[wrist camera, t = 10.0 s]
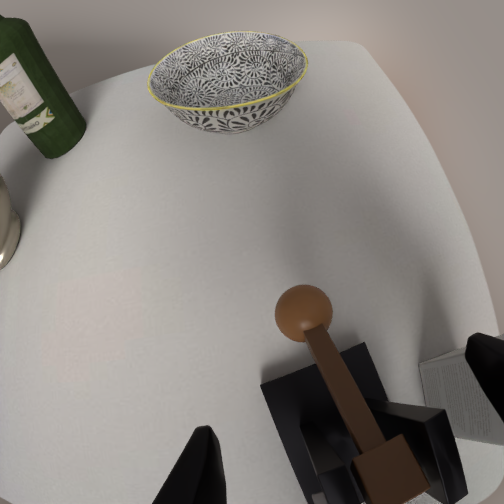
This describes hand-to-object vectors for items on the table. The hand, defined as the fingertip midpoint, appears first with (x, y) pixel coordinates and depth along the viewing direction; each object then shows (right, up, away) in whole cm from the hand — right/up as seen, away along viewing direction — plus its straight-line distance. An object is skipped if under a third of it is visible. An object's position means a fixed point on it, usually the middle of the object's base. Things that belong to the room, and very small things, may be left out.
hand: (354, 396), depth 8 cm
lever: (+1, -3, +5) cm, 6 cm away
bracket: (+3, -9, +10) cm, 14 cm away
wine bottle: (-30, +20, +27) cm, 45 cm away
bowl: (-5, +20, +24) cm, 32 cm away
